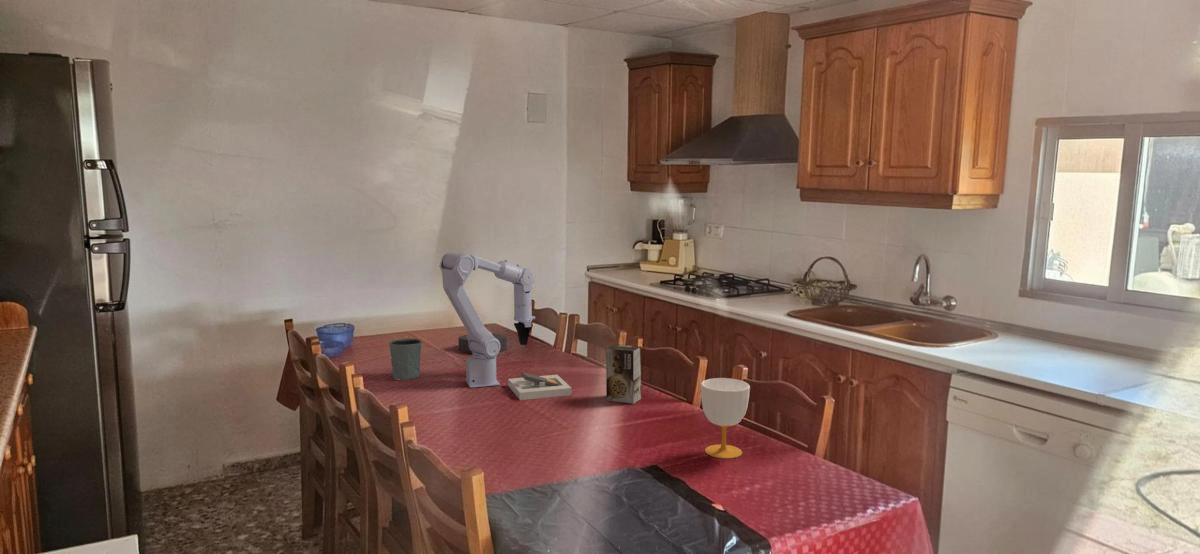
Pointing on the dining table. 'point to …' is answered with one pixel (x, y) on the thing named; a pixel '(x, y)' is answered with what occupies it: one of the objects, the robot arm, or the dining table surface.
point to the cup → (724, 410)
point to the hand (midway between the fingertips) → (523, 344)
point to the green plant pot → (405, 358)
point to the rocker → (539, 379)
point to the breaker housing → (539, 388)
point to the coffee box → (623, 373)
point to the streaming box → (465, 348)
